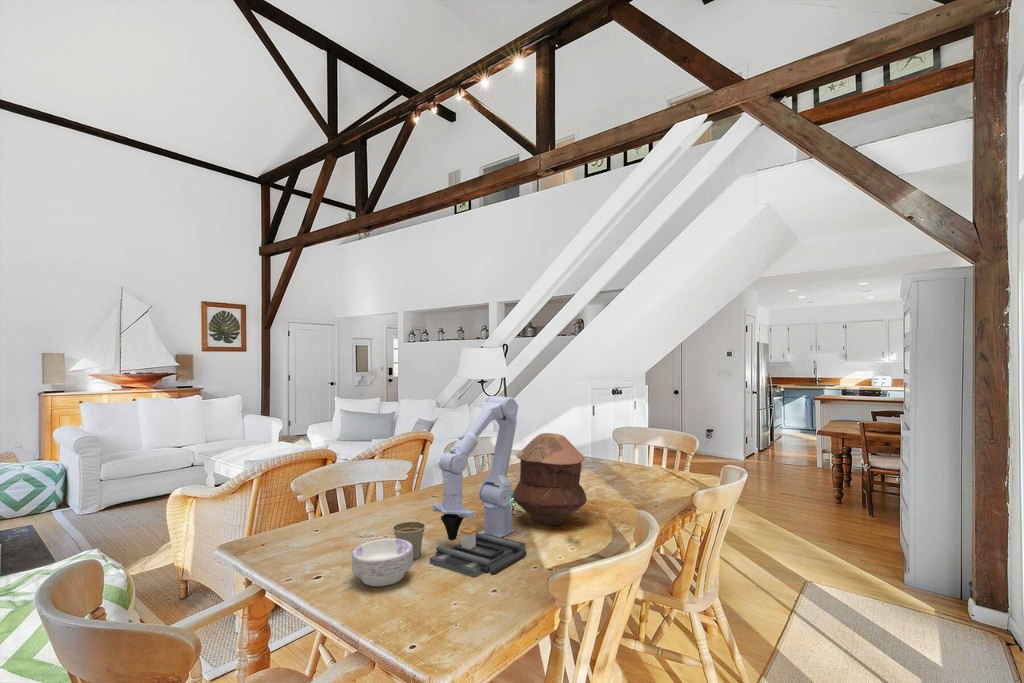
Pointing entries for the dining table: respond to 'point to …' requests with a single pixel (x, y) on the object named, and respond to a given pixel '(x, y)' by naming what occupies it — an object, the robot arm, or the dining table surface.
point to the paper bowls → (382, 561)
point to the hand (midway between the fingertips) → (452, 539)
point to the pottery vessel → (550, 479)
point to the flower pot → (411, 534)
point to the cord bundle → (480, 560)
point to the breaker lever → (468, 538)
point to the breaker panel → (482, 549)
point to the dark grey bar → (499, 541)
